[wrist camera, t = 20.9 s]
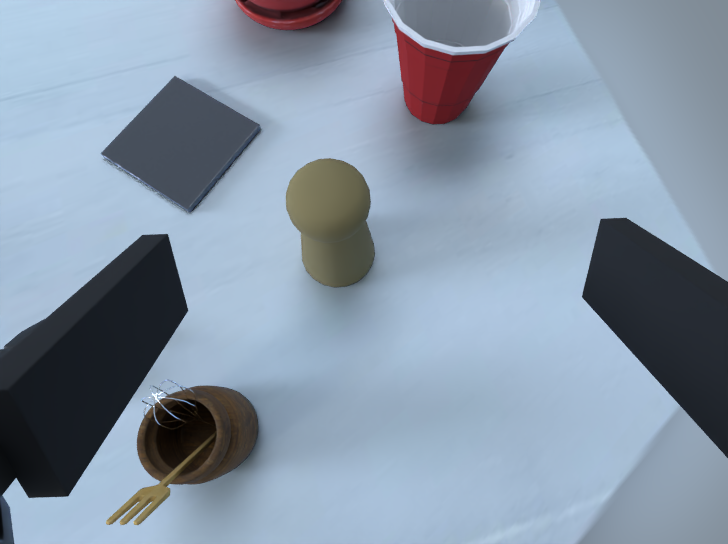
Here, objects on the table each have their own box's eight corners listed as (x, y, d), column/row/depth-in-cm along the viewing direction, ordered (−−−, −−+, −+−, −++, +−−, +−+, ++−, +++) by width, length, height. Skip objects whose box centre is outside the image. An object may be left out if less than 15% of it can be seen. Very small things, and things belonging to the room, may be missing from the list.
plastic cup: (369, 144, 38) (370, 32, 27) (384, 48, 41) (391, -88, 30) (490, 158, 38) (545, 50, 26) (496, 60, 41) (547, -74, 29)
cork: (372, 289, 34) (374, 239, 24) (297, 284, 34) (266, 231, 24) (377, 220, 36) (381, 145, 25) (306, 216, 36) (281, 138, 25)
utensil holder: (263, 387, 32) (206, 377, 20) (256, 479, 30) (188, 525, 18) (185, 386, 32) (84, 376, 20) (173, 478, 30) (54, 524, 19)
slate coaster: (261, 129, 39) (259, 124, 38) (190, 213, 36) (187, 210, 36) (177, 80, 40) (174, 75, 40) (104, 157, 38) (100, 153, 37)
